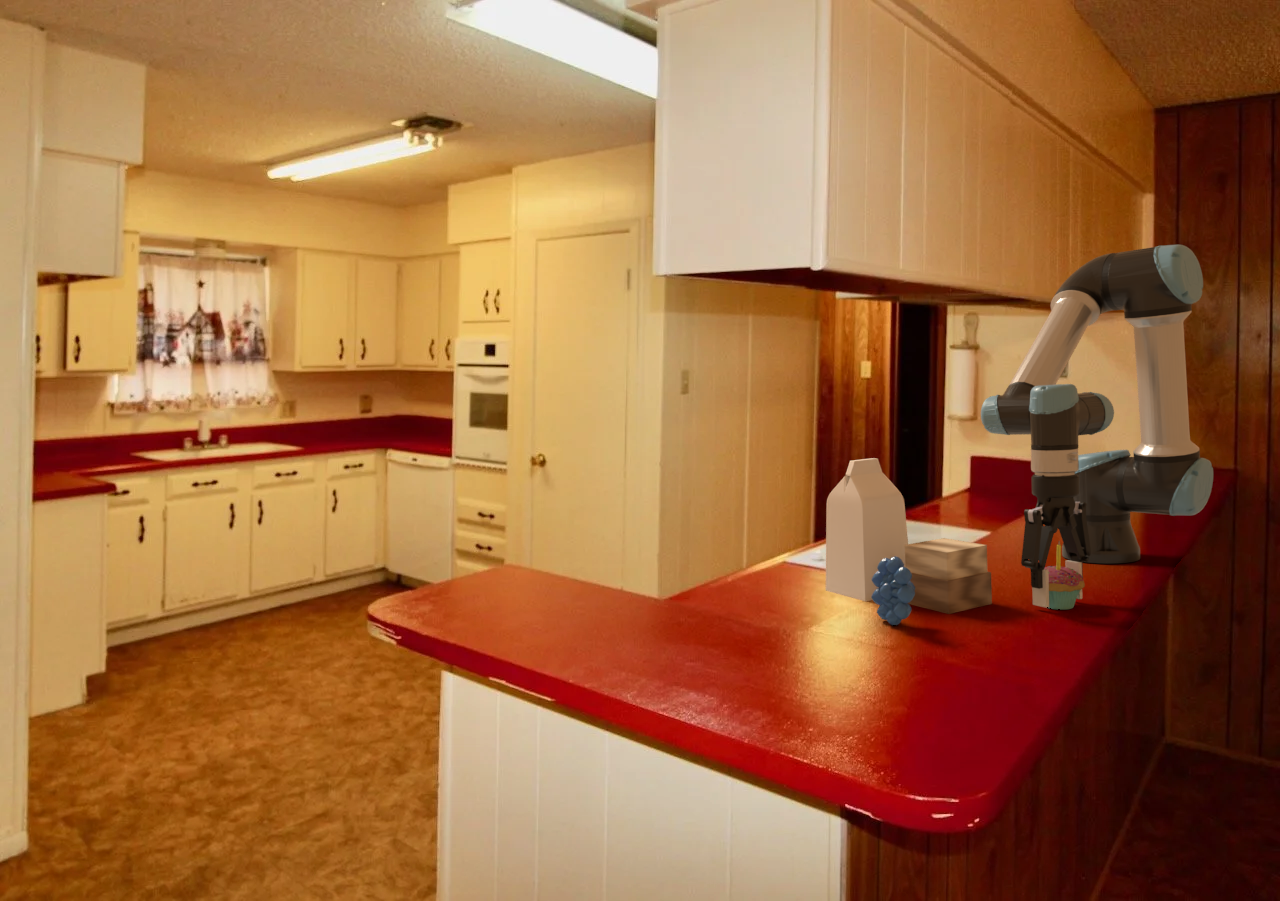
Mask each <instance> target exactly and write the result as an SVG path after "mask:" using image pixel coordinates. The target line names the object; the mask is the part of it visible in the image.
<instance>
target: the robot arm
mask: <svg viewBox="0 0 1280 901" xmlns="http://www.w3.org/2000/svg"><path fill="white" fill-rule="evenodd" d="M1203 289H1204V277H1203V272H1202V268H1201V264H1200V262H1199V260H1198V258H1197V256H1196V255H1195V253H1194V252H1193V250H1192V249H1191V248H1189V247H1188V246H1186V245H1183V244H1167V245H1158V246H1153V247H1147V248H1139V249H1133V250H1127V251H1126V250H1125V251H1119V252H1112V253H1110V252H1109V253H1106V254H1103V255H1099V256H1097V257H1094V258H1093V259H1091V260H1089V261H1087V262H1086V263H1085V264H1083V265H1081V266H1080V267H1079V268H1077V270H1075V271H1074V272H1073V273H1071V275H1070V276H1069V277H1068V278H1066V280H1064V282H1063V283H1062V284H1061V285H1060V286H1059V288H1058V289H1057V290H1056V292H1055V294H1054V296H1053V298H1052V299H1051V301H1050V313H1049V315H1048V317H1047V318H1046V320H1045V322H1044V323H1043V325H1042V327H1041V329H1040V330H1039V332H1038V333H1037V336H1036V338H1035V339H1034V340H1033V343H1032V344H1031V346H1030V348H1029V350H1028V351H1027V353H1026V354H1025V357H1024V358H1023V360H1022V361H1021V363H1020V365H1019V367H1018V368H1017V370H1016V372H1015V374H1014V376H1013V377H1012V379H1011V381H1010V383H1009V384H1008V385H1007V388H1006V390H1005V391H1004V392H1003V394H1001V395H1000V394H996V395H992V396H989V397H987V398H986V399H984V401H983V403H982V405H981V408H980V420H981V423H982V425H983V426H984V427H983V428H984V429H985V430H986V431H987V432H988V433H990V434H995V435H1006V436H1011V435H1013V436H1014V435H1016V436H1017V435H1018V436H1019V435H1030V440H1031V441H1030V446H1031V447H1030V470H1031V472H1032V473H1033V474H1032V475H1031V494H1032V495H1033V496H1035V497H1036V498H1037V501H1036V505H1035V508H1032V509H1028V508H1026V509H1024V511H1023V515H1024V531H1023V541H1022V542H1023V543H1022V552H1021V560H1020V561H1021V562H1020V564H1021V566H1022V567H1025V568H1026V569H1030V585H1031V590H1032V591H1031V592H1032V596H1031V597H1032V605H1033V606H1037V607H1041V608H1046V609H1048V608H1047V607H1049V573H1048V570H1047V569H1044V568H1045V567H1046V566H1047V560H1048V557H1049V553H1050V550H1051V546H1052V543H1053V537H1054V534H1055V533H1056V534H1057V532H1059V533H1060V536H1061V540H1062V542H1063V543H1062V546H1061V557H1063V558H1064V559H1067V560H1065V561H1064V563H1065V564H1064V565H1065V566H1064V567H1065V568H1067V567H1068V568H1069V569H1070V568H1071V569H1073V570H1074V571H1076V572H1078V573H1079V574H1081V576H1083V577H1084V575H1083V572H1084V571H1083V570H1084V569H1083V568H1084V567H1083V563H1091V564H1108V565H1109V564H1110V565H1111V564H1125V563H1134V562H1138V561H1139V560H1140V559H1141V547H1140V545H1139V543H1138V540H1137V537H1136V533H1135V531H1134V528H1133V527H1132V522H1131V513H1143V514H1144V513H1145V514H1153V515H1154V514H1157V515H1169V516H1173V517H1175V516H1195V515H1197V514H1198V513H1200V512H1202V510H1203V509H1204V508H1205V506H1206V505H1207V503H1208V501H1209V499H1210V496H1211V493H1212V488H1213V482H1214V468H1213V466H1212V462H1211V460H1209V459H1207V458H1205V457H1201V455H1200V454H1201V453H1200V447H1199V446H1198V445H1196V443H1194V442H1193V441H1192V440H1191V436H1190V435H1191V434H1190V418H1189V417H1190V415H1189V414H1190V413H1189V400H1188V399H1189V398H1188V383H1187V382H1188V381H1187V380H1188V377H1187V362H1186V360H1187V359H1186V349H1185V348H1186V346H1185V345H1186V344H1185V329H1184V328H1185V327H1184V322H1185V320H1186V319H1187V318H1188V317H1189V316H1190V314H1192V310H1193V309H1192V305H1193V304H1195V303H1198V301H1200V299H1201V297H1202V295H1203ZM1111 311H1123V312H1124V320H1125V321H1126V322H1127V323H1129V324H1130V325H1132V328H1133V334H1134V335H1133V337H1134V351H1135V352H1134V354H1135V367H1136V369H1135V370H1136V383H1137V397H1138V398H1137V399H1138V412H1139V416H1138V417H1139V429H1140V443H1139V444H1138V445H1137V447H1135V448H1134V449H1133V456H1131V452H1130V451H1129V450H1128V449H1115V450H1105V451H1097V452H1096V451H1095V452H1090V453H1089V452H1088V453H1083V454H1079V436H1087V435H1089V436H1092V435H1095V434H1097V433H1100V432H1103V431H1104V430H1106V429H1107V428H1109V427H1110V425H1112V422H1113V419H1114V416H1115V409H1114V406H1113V404H1112V401H1111V400H1110V399H1109V398H1108V397H1107V396H1106V395H1104V394H1102V393H1099V392H1092V391H1089V392H1087V391H1086V392H1081V393H1078V388H1077V386H1076V385H1075V384H1074V383H1073V384H1071V383H1064V384H1062V383H1060V384H1059V383H1058V380H1059V379H1060V378H1061V375H1062V374H1063V372H1064V370H1065V368H1066V366H1067V364H1068V363H1069V360H1070V359H1071V357H1072V356H1073V354H1074V352H1075V349H1076V348H1077V346H1078V344H1079V343H1080V341H1081V339H1082V337H1083V336H1084V334H1085V332H1086V331H1087V329H1088V327H1089V326H1092V325H1093V324H1095V323H1096V322H1097V321H1098V320H1099V317H1100V316H1101V315H1102V314H1104V313H1107V312H1111ZM1057 383H1058V384H1057ZM1058 530H1059V531H1058ZM1082 599H1083V588H1082V589H1081V590H1080V592H1079V594H1078V595H1077V598H1076V600H1082Z"/></svg>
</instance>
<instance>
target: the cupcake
mask: <svg viewBox="0 0 1280 901" xmlns="http://www.w3.org/2000/svg"><path fill="white" fill-rule="evenodd" d="M1061 559H1062V546H1061V541H1060V540H1058V544H1056V565H1048V566H1045V568H1044V569H1047V570H1048V573H1049V607H1048V608H1047V609H1050V608H1051V609H1052V610H1058V609H1060V611H1062V610H1071V609H1073V608H1074V606H1075V604H1076V601H1077V599H1076V598H1077V595H1078V594H1079V592H1080V590H1081V589H1082V590H1083V588H1085V586H1086V584H1085V581H1084V575H1083V576H1081V574H1079V573H1078V572H1076V571H1074V570H1073V569H1071V568H1070V569H1069V568H1068V567H1067V568H1065V566H1061V563H1062V562H1061Z"/></svg>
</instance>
